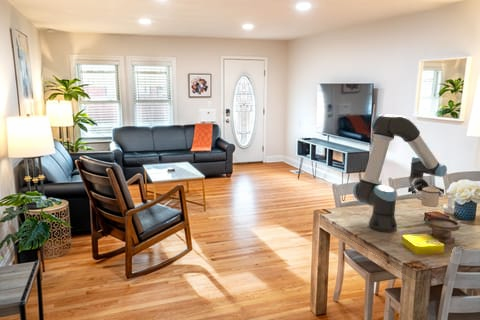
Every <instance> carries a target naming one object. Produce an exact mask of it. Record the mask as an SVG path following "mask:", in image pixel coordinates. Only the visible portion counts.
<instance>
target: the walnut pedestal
mask: <svg viewBox="0 0 480 320" xmlns="http://www.w3.org/2000/svg"><path fill="white" fill-rule="evenodd" d="M424 223H425V225H426V227H429V228H431V231H429V232H427V233H426V234H428V235H430V236H432V237H433V238H435V239H437V240H438V241H440V242H441V243H443V244H451V243H452V244H453V243H454V242H455V241H456V239H455V238H456V237H455V236H454V235H452V232H457V231H458V230H460V227H461V222H459V221H458V220H456V219H453V218H450V217H444V216H437V215H436V216H432V215H431V216H427V217H425V218H424Z"/></svg>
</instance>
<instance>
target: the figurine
mask: <svg viewBox="0 0 480 320" xmlns="http://www.w3.org/2000/svg"><path fill="white" fill-rule="evenodd" d="M454 195H455V194H454ZM454 195H452V194H449V193H448V198H447V204H443V206H442V209H443V211H444V213H445V214H449V215H450V214H451V215H454V213H455V212H454V206H455V205H453V201H454Z"/></svg>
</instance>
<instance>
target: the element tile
mask: <svg viewBox="0 0 480 320" xmlns="http://www.w3.org/2000/svg"><path fill="white" fill-rule="evenodd" d="M401 244H402V245H403V246H404V247H406V248H407V249H408V250H410V252H412V253H413V254H416V255H419V256H420V255H434V254H444V252H445V243H441V242H440V241H438V240H437V239H435V238H433V237H432V236H430V235H428V234H427V233H419V234H418V233H417V234H403V235H402V236H401Z"/></svg>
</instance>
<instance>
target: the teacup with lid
mask: <svg viewBox="0 0 480 320" xmlns="http://www.w3.org/2000/svg"><path fill="white" fill-rule="evenodd" d="M428 185H429V186H428V187H425V188H423V189H422V191H418V194H420V193H421V198H420V197H419V195H418V196H416V195H415V197H416V199H417V200H419V201H420V202H421V205H422V206H424V207H427V208H428V207H429V208H438V207H439V202H440V201H439V200H440V196H439V193H440V190H439V189H436V188H435V187H433V185H434V184H428Z"/></svg>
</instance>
